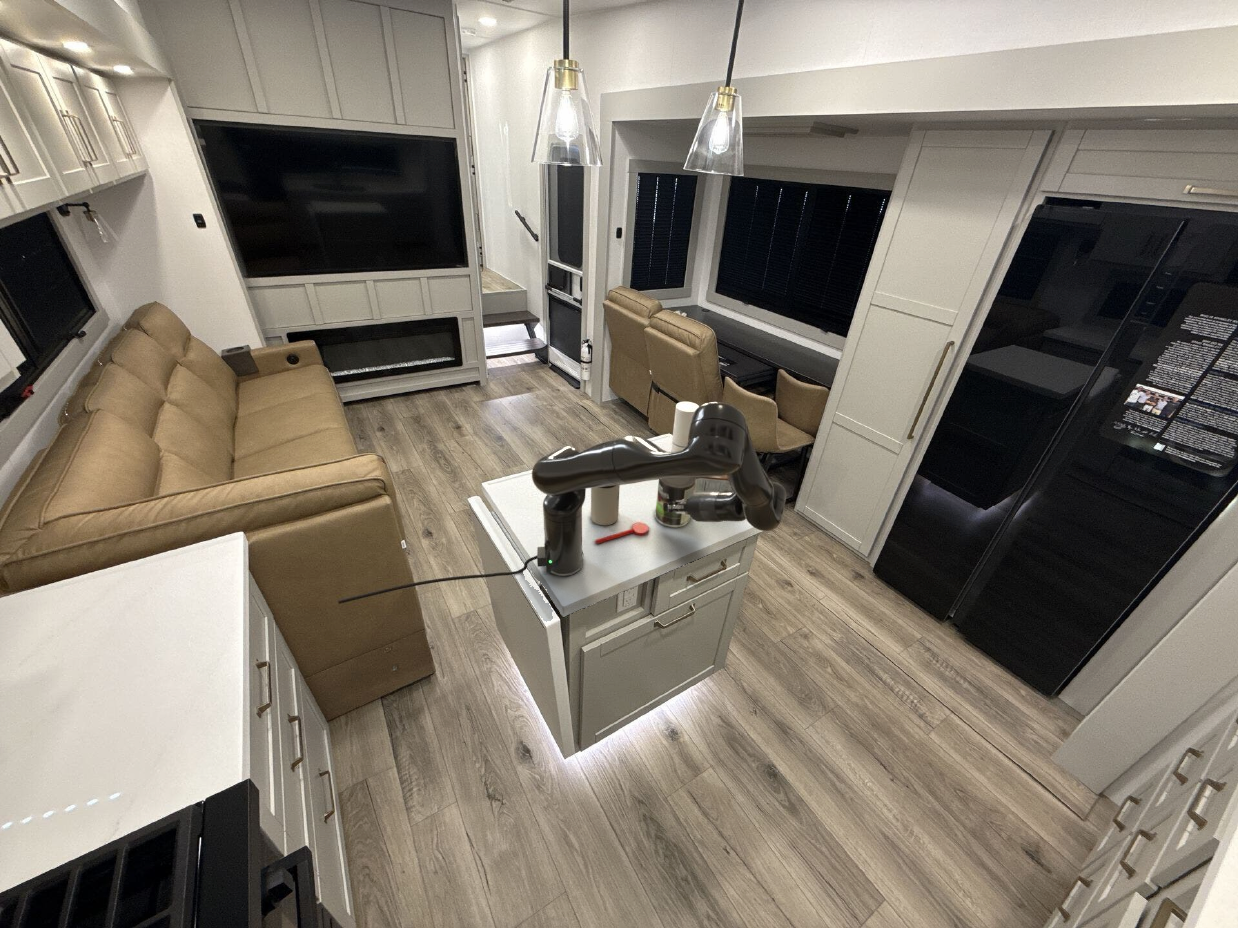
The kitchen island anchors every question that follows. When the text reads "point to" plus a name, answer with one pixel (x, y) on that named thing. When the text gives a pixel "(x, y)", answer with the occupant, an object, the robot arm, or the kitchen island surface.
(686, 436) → the cylindrical container
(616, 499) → the travel mug
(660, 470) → the robot arm
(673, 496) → the coffee can
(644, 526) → the red spoon
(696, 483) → the tin
